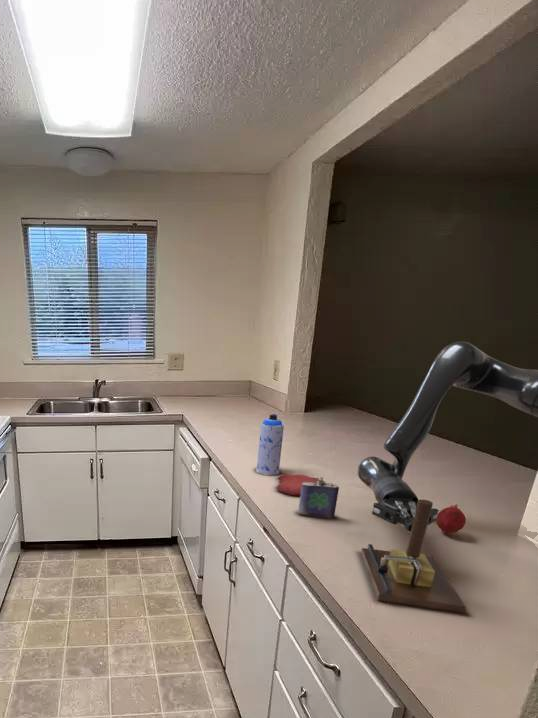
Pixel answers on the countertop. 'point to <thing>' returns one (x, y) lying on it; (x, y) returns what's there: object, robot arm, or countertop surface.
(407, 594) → the butter board
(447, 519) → the onion
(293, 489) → the patty
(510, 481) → the countertop surface
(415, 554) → the wooden handled slicer
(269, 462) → the aerosol can
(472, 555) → the countertop surface
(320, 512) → the flask
